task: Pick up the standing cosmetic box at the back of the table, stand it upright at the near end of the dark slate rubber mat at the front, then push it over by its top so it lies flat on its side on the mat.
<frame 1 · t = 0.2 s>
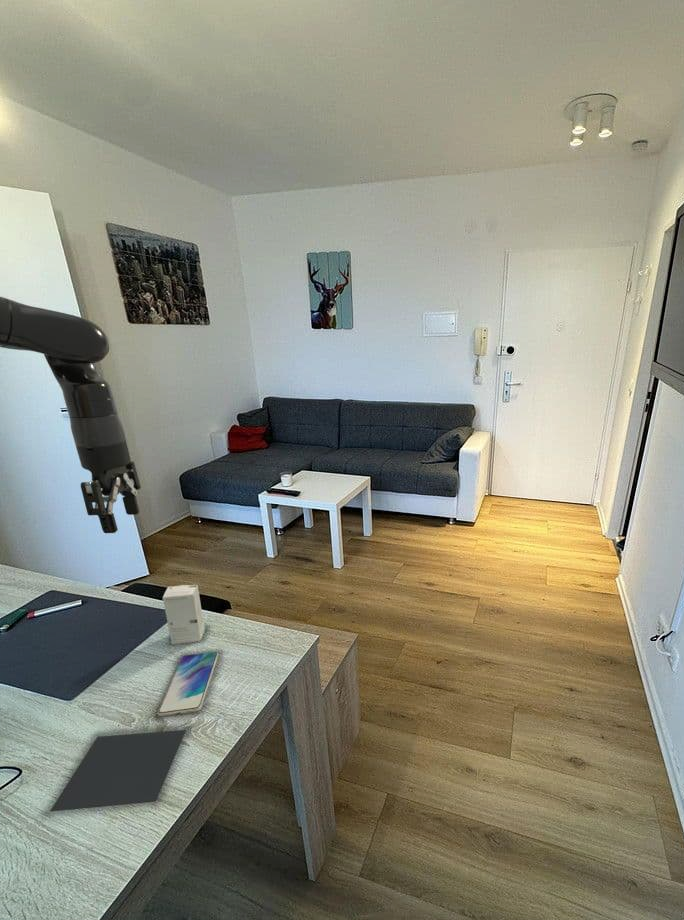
hand: (122, 522, 83), 28 cm above the table, tool pointing down, fingers open, 8 cm apart
mat: (125, 768, 66), on the table
cosmetic box: (190, 638, 95), on the table
smartphone: (191, 684, 82), on the table
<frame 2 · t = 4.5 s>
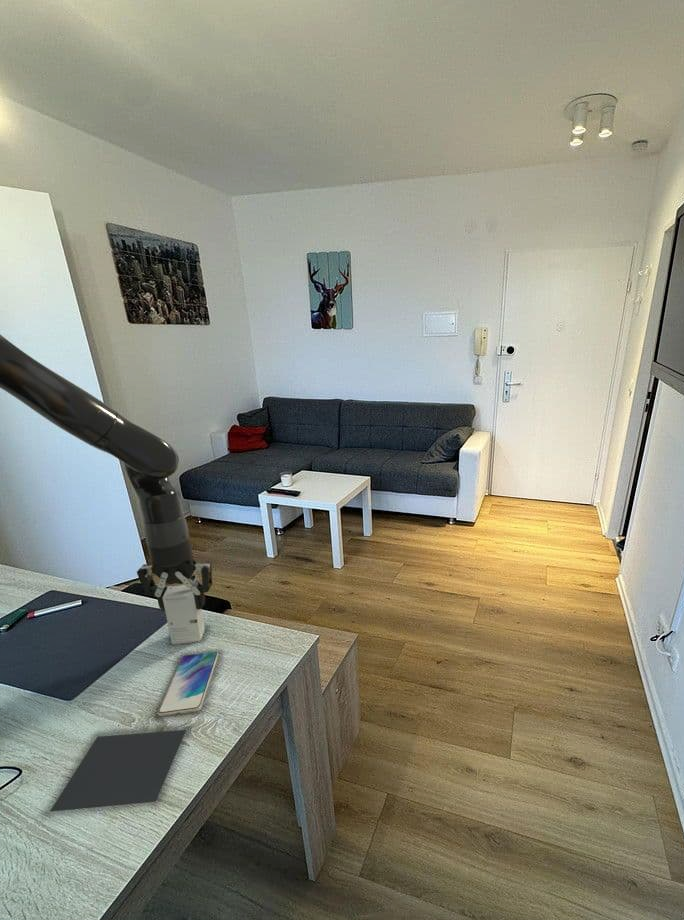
hand: (183, 608, 92), 8 cm above the table, tool pointing down, fingers closed on cosmetic box, 6 cm apart
cosmetic box: (190, 638, 95), on the table, touching gripper
everything else where it was.
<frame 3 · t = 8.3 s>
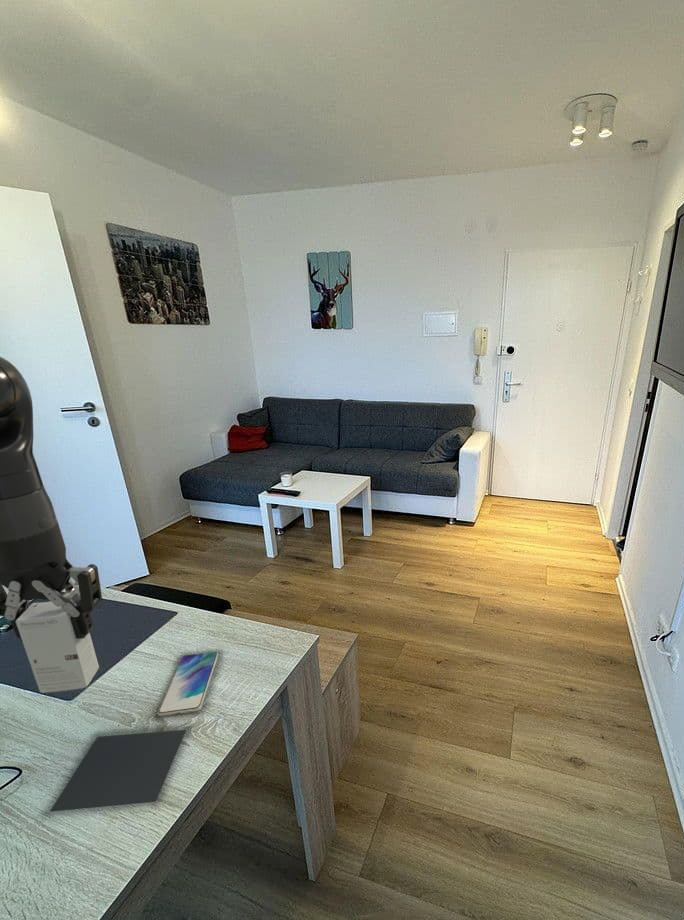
hand: (57, 636, 59), 23 cm above the table, tool pointing down, fingers closed on cosmetic box, 6 cm apart
cosmetic box: (72, 680, 62), point 16 cm above the table, touching gripper
everything else where it was.
when the fingers open (8 cm above the table, at t = 12.4 s): cosmetic box stays where it is, resting on mat.
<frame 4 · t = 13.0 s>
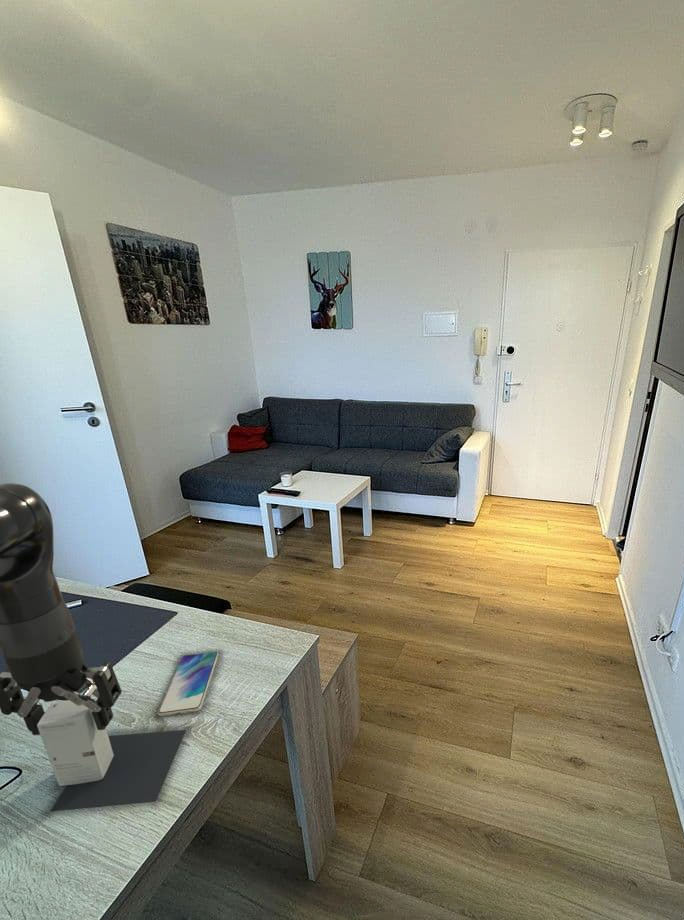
hand: (73, 727, 62), 9 cm above the table, tool pointing down, fingers open, 8 cm apart
cosmetic box: (89, 770, 66), resting on mat
everything else where it was.
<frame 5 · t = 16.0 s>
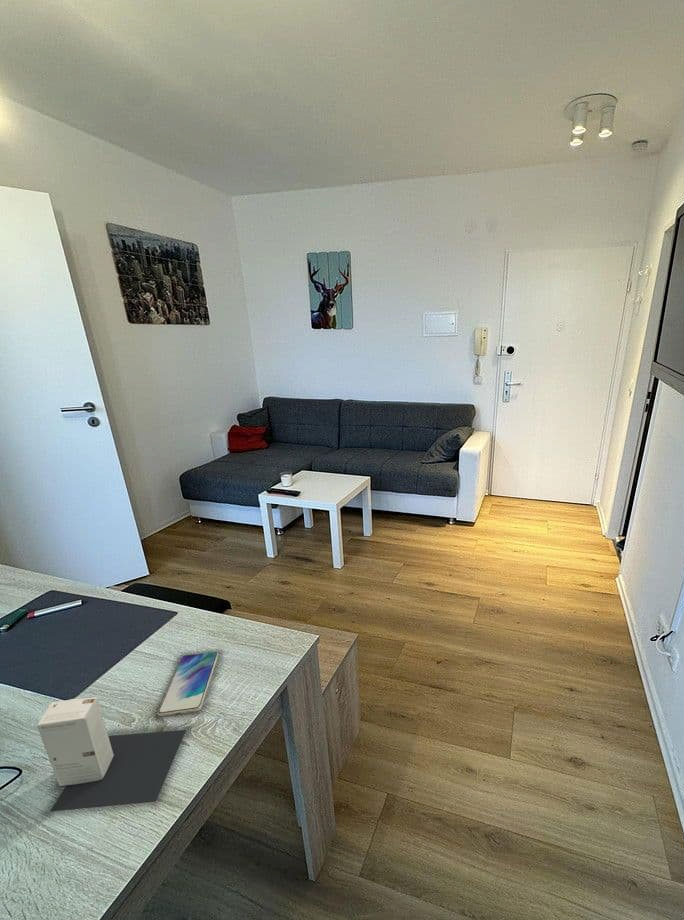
nothing on the table moved.
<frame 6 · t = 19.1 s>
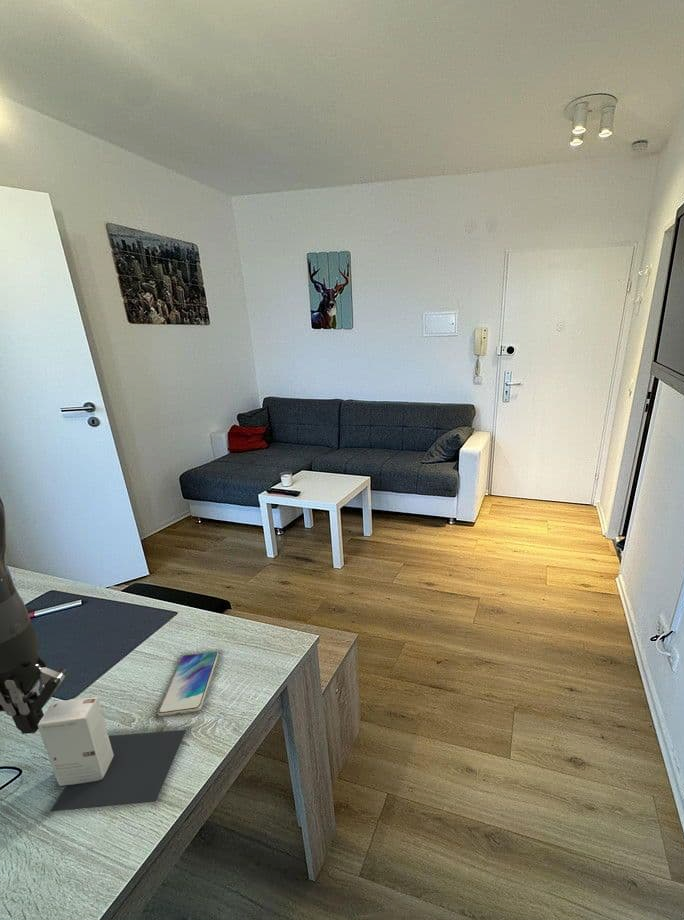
hand: (33, 728, 61), 10 cm above the table, tool pointing down, fingers closed
cosmetic box: (89, 770, 66), resting on mat, touching gripper
everything else where it was.
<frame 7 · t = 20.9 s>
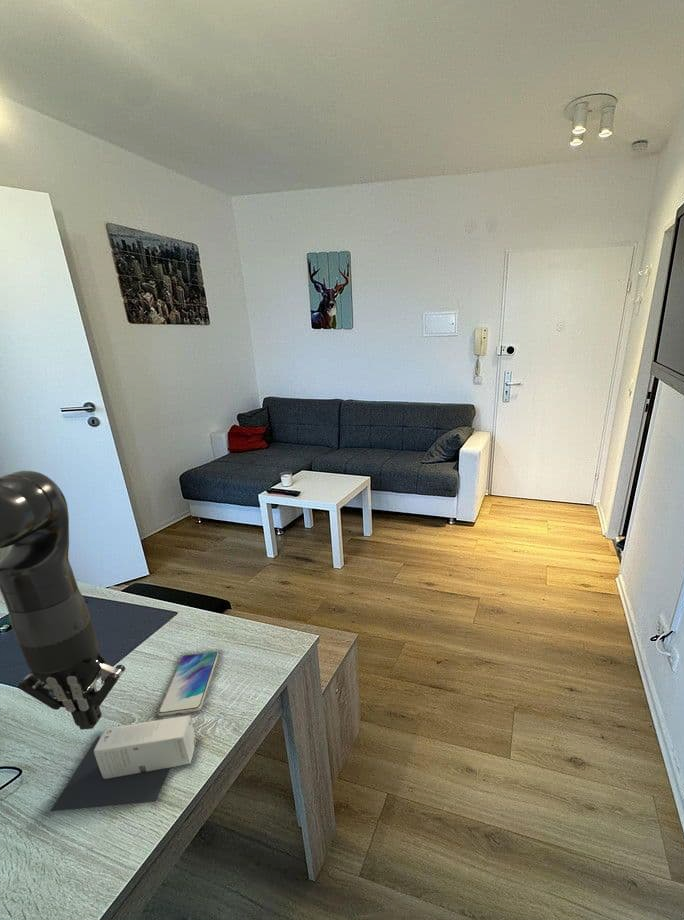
hand: (90, 724, 62), 10 cm above the table, tool pointing down, fingers closed
cosmetic box: (103, 753, 65), point 3 cm above the table, touching mat
everything else where it was.
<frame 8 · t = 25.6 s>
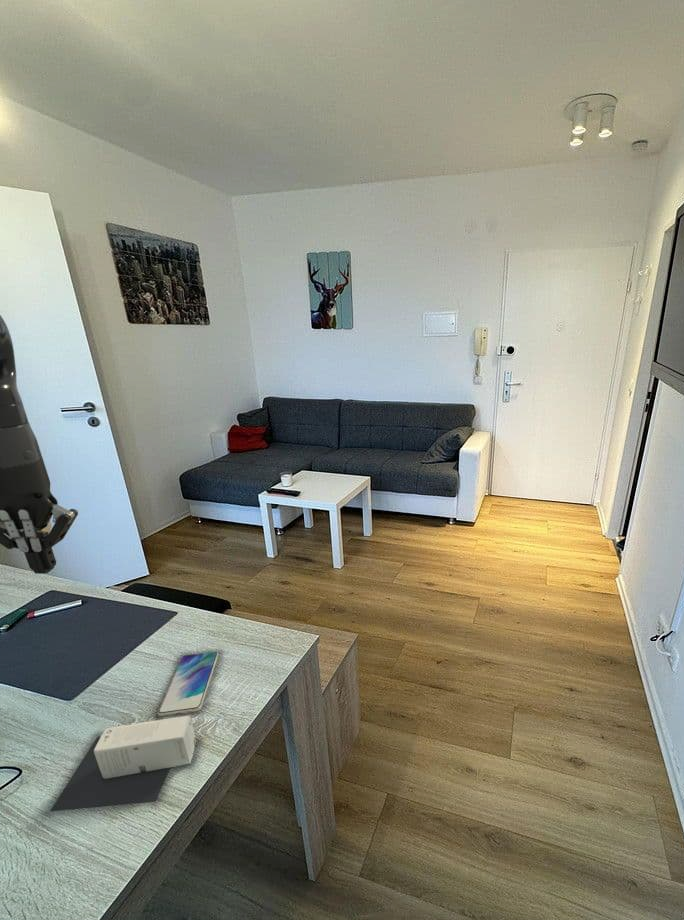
hand: (45, 570, 64), 29 cm above the table, tool pointing down, fingers closed
nothing on the table moved.
at the end: cosmetic box tilted 89°; cosmetic box inside the target area on the mat (3.5 cm from its centre), point 3.3 cm above the mat's base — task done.
